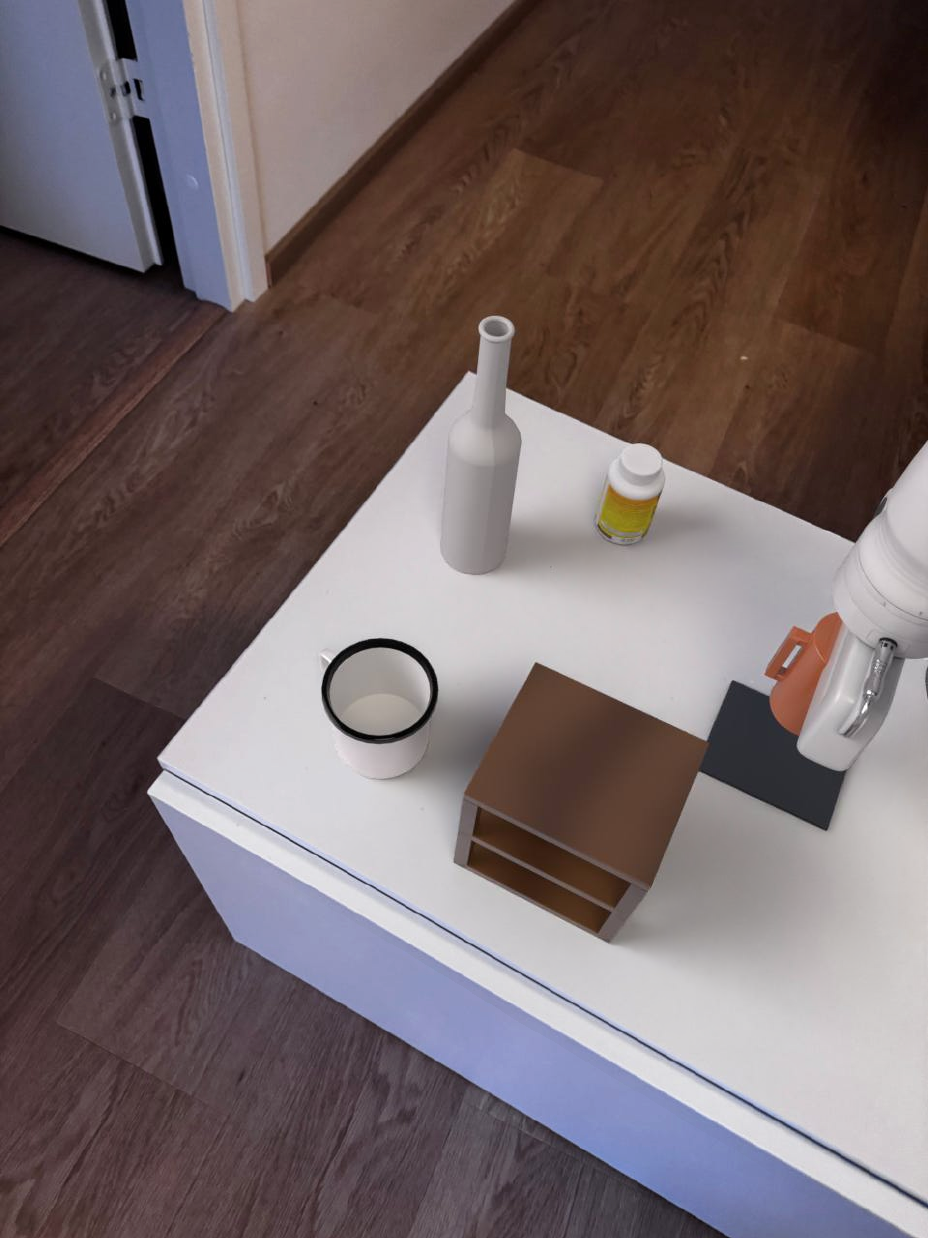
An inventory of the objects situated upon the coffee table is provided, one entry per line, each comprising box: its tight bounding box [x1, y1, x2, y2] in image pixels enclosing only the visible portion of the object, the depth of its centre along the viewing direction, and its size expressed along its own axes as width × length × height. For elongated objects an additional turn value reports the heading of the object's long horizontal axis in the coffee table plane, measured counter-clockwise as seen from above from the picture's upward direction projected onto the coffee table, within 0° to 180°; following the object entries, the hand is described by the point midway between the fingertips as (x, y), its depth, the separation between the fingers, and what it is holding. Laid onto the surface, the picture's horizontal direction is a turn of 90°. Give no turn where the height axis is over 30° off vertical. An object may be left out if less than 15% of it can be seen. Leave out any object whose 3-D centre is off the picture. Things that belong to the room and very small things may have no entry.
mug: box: [318, 637, 440, 780], centre depth 82 cm, size 12×10×9 cm
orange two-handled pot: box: [763, 611, 842, 736], centre depth 75 cm, size 8×6×10 cm
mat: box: [698, 679, 848, 832], centre depth 87 cm, size 12×10×1 cm
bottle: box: [439, 315, 523, 575], centre depth 85 cm, size 7×7×28 cm
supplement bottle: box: [594, 442, 666, 546], centre depth 95 cm, size 6×6×10 cm
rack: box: [452, 661, 709, 944], centre depth 75 cm, size 14×12×15 cm
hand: (828, 687), depth 76 cm, fingers closed on orange two-handled pot, 6 cm apart
